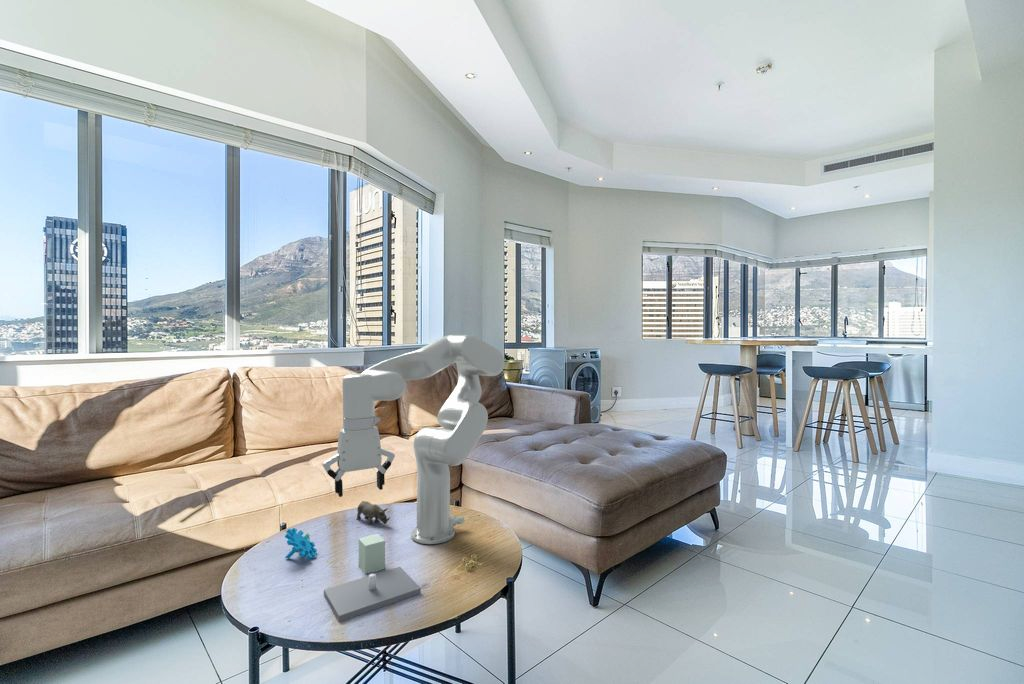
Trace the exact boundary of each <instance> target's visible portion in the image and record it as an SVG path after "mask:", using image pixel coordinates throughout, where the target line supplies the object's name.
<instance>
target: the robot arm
mask: <svg viewBox="0 0 1024 684" xmlns="http://www.w3.org/2000/svg"><path fill="white" fill-rule="evenodd" d="M505 362H506V361H505V358H504V355H503V353H502V352H501V351H500V350H499V349H498V348H496V347H494V346H493V345H491V344H489V343H487V342H486V341H484V340H482V339H481V338H479V337H477V336H475V335H471V334H448V335H444V336H442V337H440V338H438V339H436V340H434V341H432V342H431V343H428V344H426V345H424V346H422V347H420V348H419V349H417V350H413V351H411V352H406V353H404V354H401V355H398V356H395V357H391V358H388V359H385V360H383V361H381V362H379V363H376V364H374V365H373V366H370V367H368V368H366V369H365V370H364V371H362V372H361V373H351V374H347V375H345V376H344V377H343V378H342V384H341V385H342V423H343V424H342V426H343V427H342V429H340V430H339V433H338V437H337V438H338V439H337V451H336V452H337V454H335V455H334V456H333V455H332V457H330V458H327V460H325V461H323V462H322V467H323V469H324V470H325V472H326V474H327V475H328V476H329V477H331V478H332V479H333V480H334V492H335V494H337V495H338V497H339V498H342V497H343V491H344V490H343V479H342V478H343V476H344V475H345V473H348V472H351V473H352V472H356V471H363V470H370V469H377V472H376V487H377V488H378V490H380V491H381V490H383V489H384V487H383V486H384V485H386V484H385V482H386V481H385V475H386V472H387V470H388V469H389V468H390V467H391V465H392V462H393V461H394V460H395V459H394V458H395V457H396V454H395V453H393V452H391V451H390V450H389V451H388V450H386V449H383V448H381V439H380V433H379V429H378V426H376V425H377V424H378V423H381V421H382V420H381V416H376V414H375V413H376V411H375V410H376V409H375V407H376V405H375V404H376V403H375V402H376V401H377V402H378V401H380V402H381V401H384V402H385V401H387V402H388V401H389V402H391V401H395V400H397V399H399V398H401V397H402V396H403V395H404V394H405V392H406V390H407V382H408V381H414V380H415V381H416V380H425V379H428V378H431V377H432V376H434V375H436V374H438V373H439V372H441V371H443V370H445V369H446V368H448V367H449V366H452V365H453V364H456V369H457V382H456V383H457V384H456V386H455V387H454V389H453V391H452V392H451V393H450V395H449V396H448V398H447V399H446V400H445V402H444V403H443V405H442V406H441V408H440V409H439V411H438V414H437V417H436V418H437V423H438V424H439V426H440V427H439V426H426V427H423V428H421V429H419V430H418V432H417V433H416V435H415V437H414V440H413V452H414V458H415V463H416V464H415V465H416V527H415V528H413V529H412V530H411V533H410V535H411V536H410V537H411V539H412V540H413V541H414V542H416V543H419V544H422V545H424V544H425V545H437V544H442V543H446V542H449V541H451V539H453V538H454V537H455V535H456V529H455V528H454V527H456V525H461V524H462V525H463V524H464V523H465V521H466V520H465V517H464V516H459V517H457V516H456V515H452V516H451V506H450V505H451V474H450V472H451V471H450V467H449V466H453V467H454V466H459V465H462V464H463V463H464V462H465V461H466V460H467V459H468V457H469V456H470V454H471V453H472V452H473V450H474V448H475V447H476V445H477V443H478V442H479V440H480V438H481V437H482V435H483V434H484V432H485V430H486V428H487V426H488V425H487V424H488V420H489V415H488V410H487V409H486V407H485V405H483V404H482V403H480V402H479V401H480V399H481V397H482V386H481V382H480V377H479V376H484V377H495V376H498V375H500V374H501V373H502V372H503V370H504V368H505V364H506V363H505ZM382 456H383V457H386V459H385V461H384V463H383V464H382ZM335 463H337V470H336V471H334V470H333V469H332V468H331V466H332V465H334V464H335Z"/></svg>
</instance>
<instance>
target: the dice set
mask: <svg viewBox="0 0 1024 684" xmlns="http://www.w3.org/2000/svg"><path fill="white" fill-rule="evenodd" d="M461 561H462V562H461V563H462V565H463V566H464V569H465V570H466V572H470V570H471V571H472V568H473V567H472V566H474V565H477V566H478V565H479V566H478V567H482V566H483V563H482V562H478V561H477V554H475V553H474V554H473V553H472V554H471V555H470V560H469V558H468V557H462V559H461ZM473 561H474V562H473ZM481 565H482V566H481Z"/></svg>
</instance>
